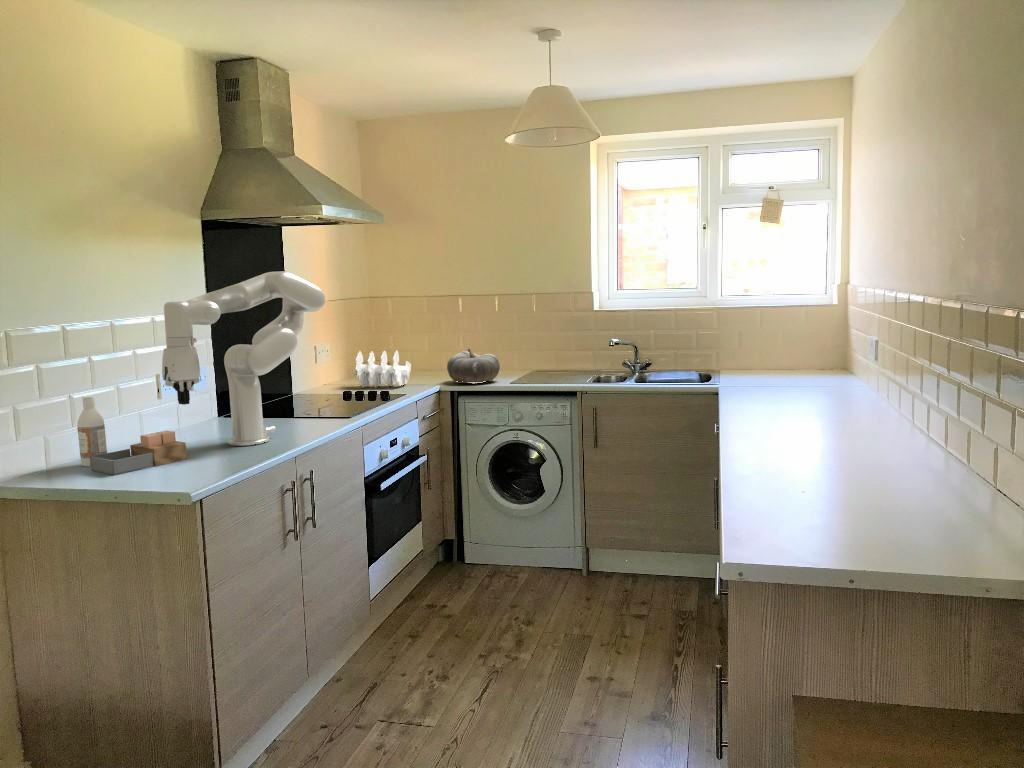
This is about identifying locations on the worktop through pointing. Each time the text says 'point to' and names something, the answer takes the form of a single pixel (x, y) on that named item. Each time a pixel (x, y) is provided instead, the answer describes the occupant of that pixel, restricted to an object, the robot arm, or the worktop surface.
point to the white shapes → (381, 370)
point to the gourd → (473, 367)
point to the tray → (120, 462)
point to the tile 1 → (167, 436)
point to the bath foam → (90, 432)
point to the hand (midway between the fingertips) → (184, 403)
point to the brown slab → (162, 452)
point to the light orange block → (151, 440)
